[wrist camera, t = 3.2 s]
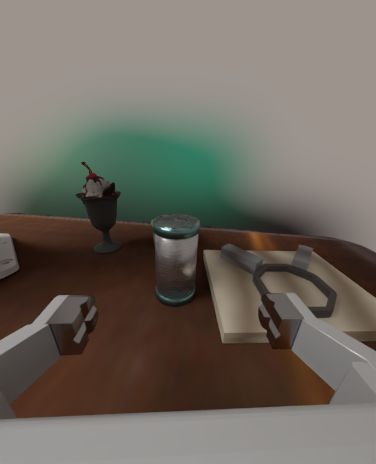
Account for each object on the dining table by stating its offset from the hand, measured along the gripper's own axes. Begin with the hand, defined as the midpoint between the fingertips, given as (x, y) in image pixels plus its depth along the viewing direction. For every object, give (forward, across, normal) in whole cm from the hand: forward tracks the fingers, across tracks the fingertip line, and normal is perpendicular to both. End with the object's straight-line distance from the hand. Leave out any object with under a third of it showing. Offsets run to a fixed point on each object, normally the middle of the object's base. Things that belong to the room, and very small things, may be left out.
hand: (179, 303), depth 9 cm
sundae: (+24, +14, +10) cm, 30 cm away
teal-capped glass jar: (+12, 0, +10) cm, 16 cm away
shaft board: (+13, -14, +10) cm, 22 cm away
